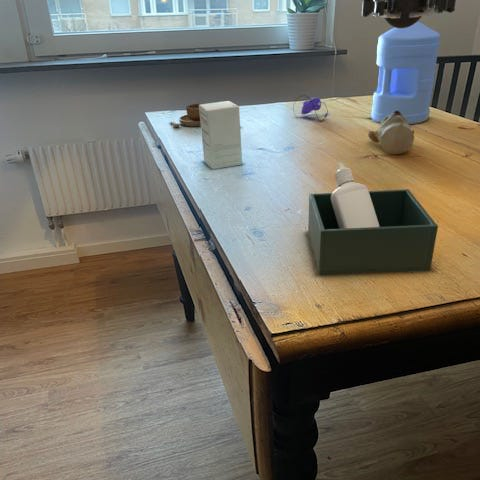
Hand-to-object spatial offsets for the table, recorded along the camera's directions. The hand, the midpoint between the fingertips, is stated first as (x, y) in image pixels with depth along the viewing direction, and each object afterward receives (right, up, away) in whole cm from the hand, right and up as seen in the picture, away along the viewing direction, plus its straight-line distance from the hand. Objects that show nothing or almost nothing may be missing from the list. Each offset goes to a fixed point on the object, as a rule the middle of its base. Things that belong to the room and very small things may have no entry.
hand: (411, 6), depth 75 cm
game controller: (-4, +12, +73) cm, 75 cm away
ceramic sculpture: (+10, -7, +43) cm, 45 cm away
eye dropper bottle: (-8, -35, -1) cm, 36 cm away
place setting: (-37, +10, +73) cm, 82 cm away
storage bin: (-7, -37, -1) cm, 38 cm away
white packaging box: (-30, -11, +40) cm, 51 cm away
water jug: (+19, +9, +67) cm, 70 cm away
